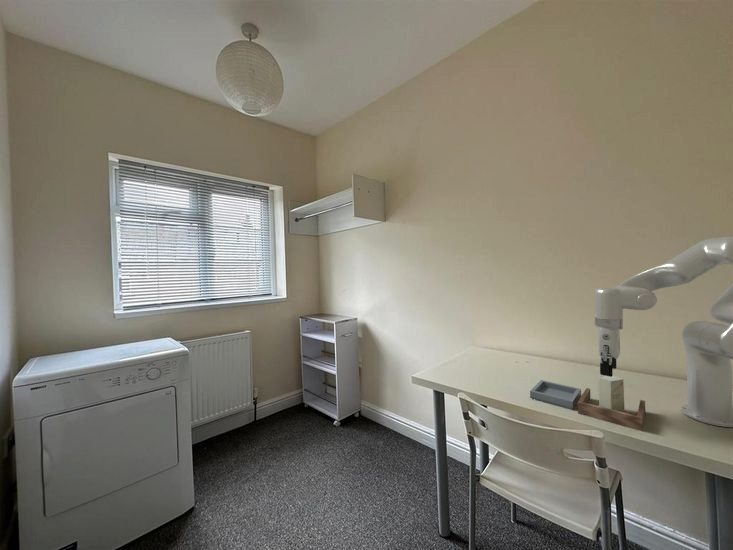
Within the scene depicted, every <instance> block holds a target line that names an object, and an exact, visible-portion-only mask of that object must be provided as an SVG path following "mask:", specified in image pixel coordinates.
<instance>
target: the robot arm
mask: <svg viewBox="0 0 733 550" xmlns="http://www.w3.org/2000/svg"><path fill="white" fill-rule="evenodd" d="M721 265H733V236H732V235H731V236H721V237H711V238H707V239H704V240H701V241H699V242H698V243H696V244H694V245H692V246H691V247H689V248H687V249H686V250H685V251H683V252H681V253H679V254H678V255H676V256H675V257H673V258H671V259H669V260H668V261H666V262H665V263H662V264H659V265H658V266H654V267H652V268H650V269H647V270H645V271H642V272H640V273H638V274H635V275H633V276H631V277H629V278H627V279H626V280H624V281H623V282H622V283H620V284H618V285H617V286H615V287H598V288H596V289H595V291H594V327H595V328H598V356H600V364H599V367H600V368H599V371H600V372H599V374H600V375H601V376H610V377H612V376H614V374H613V371H614V370H616V369H617V359H618V358H619V356H620V354H621V336H620V335H621V334H620V333H621V332H620V330H623V329H624V310H633V311H648V310H650V309H652V308H654V307H655V306H656V305H657V302H658V297H657V295H656V294H655V293H654V291H657V290H660V289H663V288H664V289H665V288H670V287H678V286H682V285H685V284H689V283H692V282H693V281H695V280H696V279H698V278H699V277H701V276H703V275H704V274H705V275H706V273H708V272H710V271H711V270H714V269H715V268H717V267H719V266H721ZM710 315H711V316H712V317H713V318H714V319H715V320H716V321H719V322H722V323H723V324H721V323H717V322H713V321H708V320H707V321H706V320H696V321H692V322H690V323H688V324H686V325H685V326H684V328H683V330H682V333H681V337H682V342H683V346H684V349H685V353H686V378H687V379H686V381H687V382H686V384H687V385H686V388H687V390H686V391H687V392H686V393H687V404H684V405H681V407H680V411H681V413H683V414H684V415H686V416H687V417H689V418H691V419H693V420H696V421H699V422H702V423H704V424H709V425H713V426H717V427H724V428H733V365H732V362H731V360H733V282H732V283H731V285H730V286H729V287H728V288H726V290H724V292H723V293H722V294H721V295H720V296H719V297H718V299H716V300H715V301H714V303H713V304H712V305H711V307H710ZM724 323H725V324H724ZM726 324H729V325H726Z"/></svg>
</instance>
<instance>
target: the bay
mask: <svg viewBox="0 0 733 550" xmlns="http://www.w3.org/2000/svg"><path fill="white" fill-rule="evenodd" d="M590 401H591V388H588V387H586V388H585V390H584V391H583V393H581V398H580V399H579V401H578V403H577V414H578V415H583V416H586V417H590V418H593V419H597V420H599V421H600V420H601V421H604V422H607V423H612V424H614V425H619V426H621V427H626V428H630V429H633V430H635V431H636V430H637V431H640V432H643V429H644V424H645V423H644V422H645V417H646V400H643V399H639V405H638V409H637V413H636V414H637V415H635V414H631V413H627V412H625V413H624V412H620V411H616V410H612V409H608V408H604V407H600V406H599V405H595V404H591V403H590Z"/></svg>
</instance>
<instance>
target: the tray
mask: <svg viewBox="0 0 733 550" xmlns="http://www.w3.org/2000/svg"><path fill="white" fill-rule="evenodd" d="M529 396H530V397H529V398H532V399H531V400H534V399H535V400H534V401H537V402H541V401H542V403H545V404H550V405H553V406H556V407H561V408H564V409H568V410H570V411H571V410H572V411H573V410H575V407H577V405H578V401H579V399H580V398H581V396H582V388H578V387H574V386H569V385H565V384H560V383H557V382H552V381H547V380H543V379H540V380H539V382H537V383H536V384H535V385H534V386H533V387H532V389H531V390H529Z"/></svg>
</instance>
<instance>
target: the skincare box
mask: <svg viewBox="0 0 733 550" xmlns="http://www.w3.org/2000/svg"><path fill="white" fill-rule="evenodd" d="M597 379H598V399H599V400H598V402H599V403H598V406H600V407H604V408H608V409H612V410H616V411H620V412H624V413H626V412H625V389H624V388H625V387H624V386H625V385H624V383H625V382H624V378H622V377H619V376H616V375H613V376H612V377H610V376H605V375H601V376H598V378H597Z"/></svg>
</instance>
